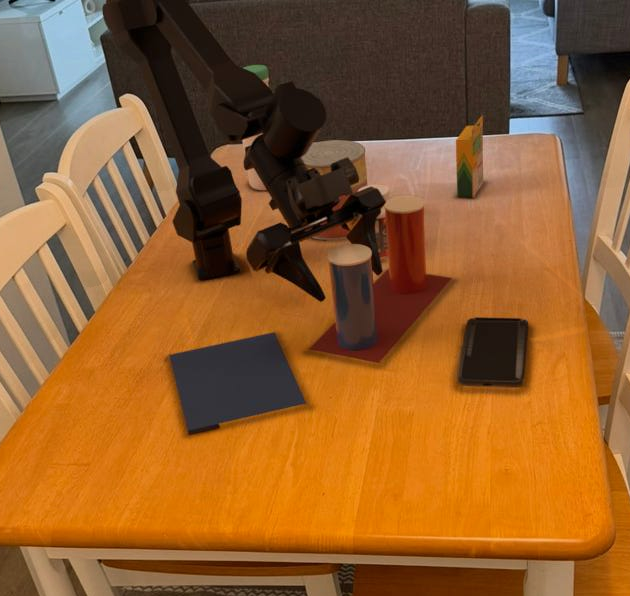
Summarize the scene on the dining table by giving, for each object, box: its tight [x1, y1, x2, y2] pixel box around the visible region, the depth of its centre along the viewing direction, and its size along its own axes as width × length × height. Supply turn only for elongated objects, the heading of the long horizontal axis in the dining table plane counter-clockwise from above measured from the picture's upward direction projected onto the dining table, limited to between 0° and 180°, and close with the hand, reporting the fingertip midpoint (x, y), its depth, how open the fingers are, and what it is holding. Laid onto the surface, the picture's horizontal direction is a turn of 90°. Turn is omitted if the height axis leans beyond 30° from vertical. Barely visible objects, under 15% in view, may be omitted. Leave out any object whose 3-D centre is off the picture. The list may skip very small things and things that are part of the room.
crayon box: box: [455, 114, 484, 199], centre depth 148 cm, size 7×3×12 cm, turn 160°
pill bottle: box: [358, 183, 391, 259], centre depth 132 cm, size 6×6×10 cm
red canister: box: [384, 195, 427, 294], centre depth 121 cm, size 5×5×12 cm
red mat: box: [308, 268, 452, 364], centre depth 119 cm, size 24×10×1 cm, turn 154°
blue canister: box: [326, 243, 378, 350], centre depth 110 cm, size 5×5×12 cm
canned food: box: [301, 139, 368, 241], centre depth 141 cm, size 11×11×12 cm
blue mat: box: [168, 332, 307, 435], centre depth 109 cm, size 18×14×1 cm
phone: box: [456, 316, 529, 388], centre depth 109 cm, size 8×1×15 cm
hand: (352, 286), depth 109 cm, fingers open, 9 cm apart
